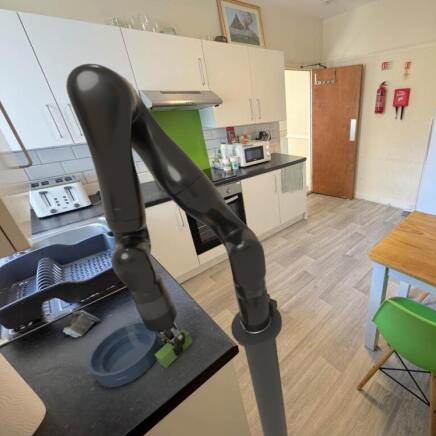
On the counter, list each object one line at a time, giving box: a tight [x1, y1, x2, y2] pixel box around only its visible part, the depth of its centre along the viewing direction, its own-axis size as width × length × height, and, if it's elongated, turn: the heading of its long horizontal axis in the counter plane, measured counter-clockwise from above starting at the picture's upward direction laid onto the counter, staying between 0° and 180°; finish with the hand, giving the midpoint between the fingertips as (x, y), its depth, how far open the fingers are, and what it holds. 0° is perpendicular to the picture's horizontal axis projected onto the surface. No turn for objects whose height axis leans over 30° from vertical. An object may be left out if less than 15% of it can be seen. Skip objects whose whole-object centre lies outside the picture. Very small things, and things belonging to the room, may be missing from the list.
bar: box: [155, 328, 193, 369], centre depth 68 cm, size 9×3×4 cm, turn 149°
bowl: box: [87, 320, 163, 388], centre depth 68 cm, size 16×16×6 cm
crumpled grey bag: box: [62, 309, 102, 339], centre depth 78 cm, size 10×7×12 cm
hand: (175, 350), depth 68 cm, fingers closed on bar, 3 cm apart
